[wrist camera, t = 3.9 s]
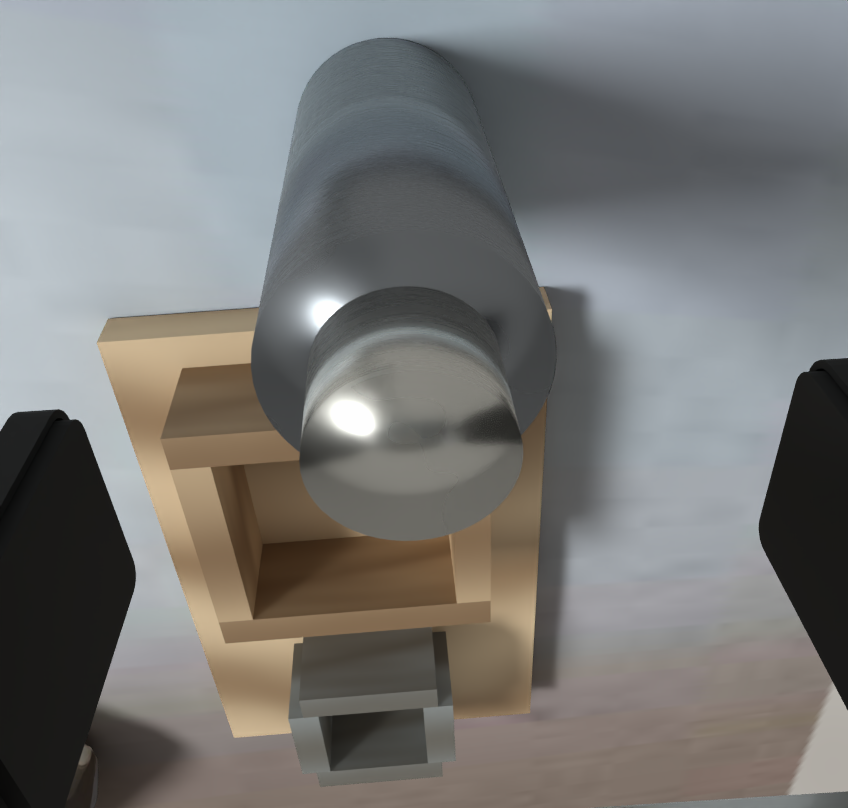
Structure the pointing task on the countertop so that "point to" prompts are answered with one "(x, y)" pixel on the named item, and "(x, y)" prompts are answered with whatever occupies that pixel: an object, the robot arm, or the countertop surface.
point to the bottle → (399, 301)
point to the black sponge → (84, 781)
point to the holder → (320, 569)
